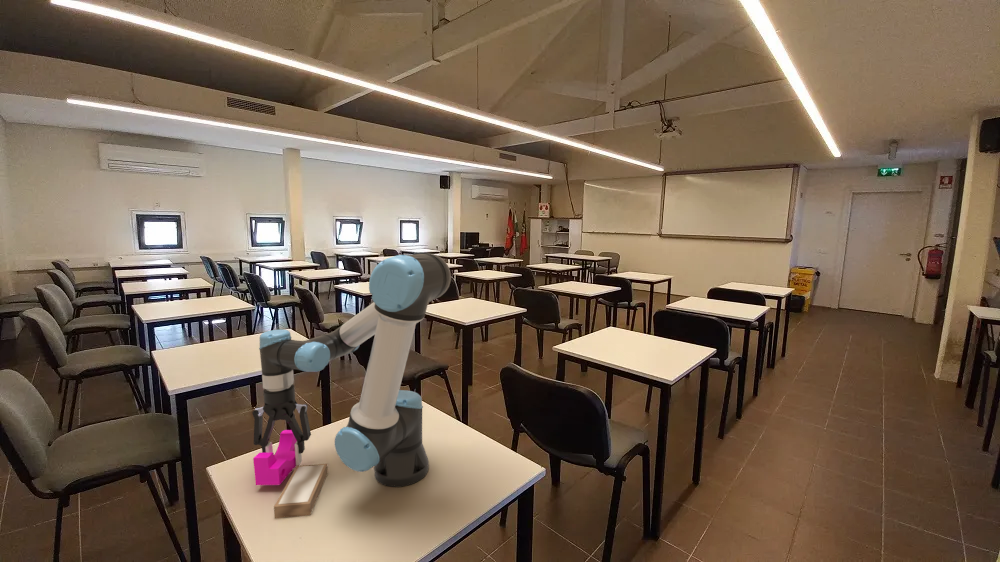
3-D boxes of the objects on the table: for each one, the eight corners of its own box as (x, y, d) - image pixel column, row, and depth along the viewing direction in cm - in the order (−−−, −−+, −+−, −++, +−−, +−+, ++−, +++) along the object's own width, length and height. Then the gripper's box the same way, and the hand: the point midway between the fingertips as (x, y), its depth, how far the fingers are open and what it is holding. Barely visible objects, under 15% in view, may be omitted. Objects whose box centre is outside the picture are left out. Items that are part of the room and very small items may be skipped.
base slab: (327, 473, 115) (327, 463, 115) (310, 515, 99) (309, 503, 98) (297, 475, 114) (296, 465, 114) (274, 518, 97) (273, 506, 97)
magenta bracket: (279, 484, 107) (277, 457, 106) (255, 485, 107) (253, 458, 106) (306, 453, 121) (304, 429, 121) (285, 454, 121) (283, 430, 121)
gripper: (320, 379, 118) (325, 454, 120) (245, 384, 115) (252, 461, 117) (313, 388, 110) (318, 468, 113) (233, 394, 107) (240, 476, 110)
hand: (284, 464), depth 115 cm, fingers closed on magenta bracket, 7 cm apart
